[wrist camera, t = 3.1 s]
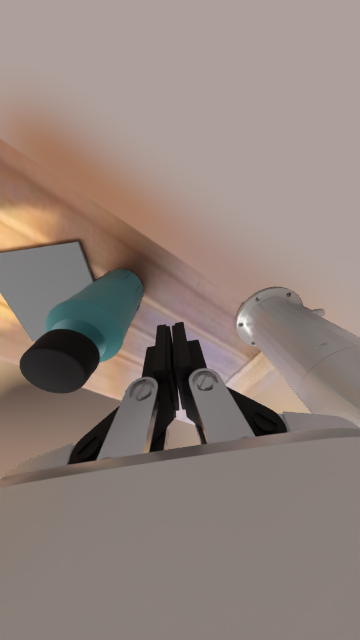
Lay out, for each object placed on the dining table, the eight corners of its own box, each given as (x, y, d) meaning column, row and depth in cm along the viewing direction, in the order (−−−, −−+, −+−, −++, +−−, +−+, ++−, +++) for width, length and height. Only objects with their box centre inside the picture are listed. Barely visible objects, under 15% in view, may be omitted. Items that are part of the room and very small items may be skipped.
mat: (79, 241, 24) (77, 241, 24) (111, 328, 31) (110, 329, 31) (-20, 256, 24) (-24, 256, 24) (34, 339, 31) (32, 340, 31)
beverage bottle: (116, 257, 25) (-6, 304, 8) (153, 280, 27) (124, 361, 10) (100, 291, 28) (-24, 388, 10) (135, 310, 30) (85, 420, 12)
